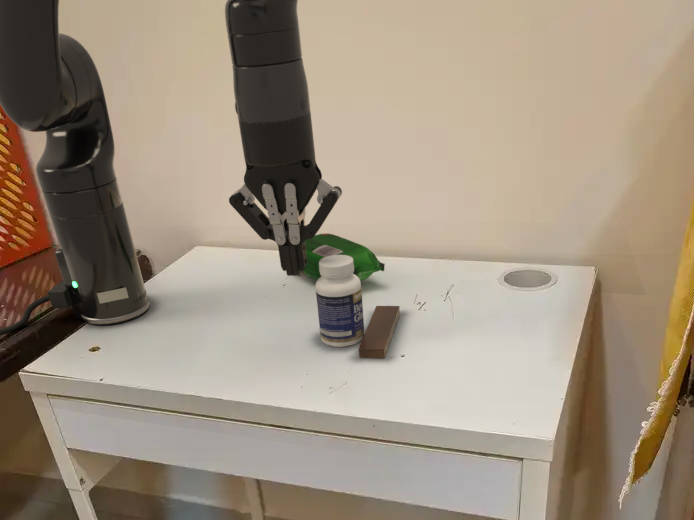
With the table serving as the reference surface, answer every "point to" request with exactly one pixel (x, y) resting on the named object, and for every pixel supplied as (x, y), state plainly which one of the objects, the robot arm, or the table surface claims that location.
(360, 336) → the pill bottle
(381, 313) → the bar
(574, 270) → the table surface
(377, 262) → the snack package
